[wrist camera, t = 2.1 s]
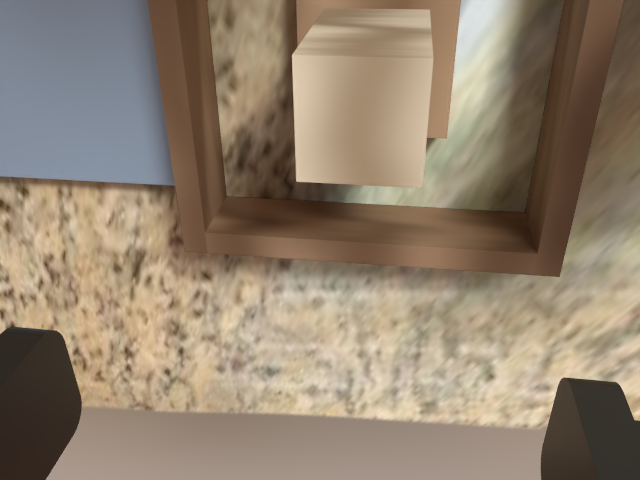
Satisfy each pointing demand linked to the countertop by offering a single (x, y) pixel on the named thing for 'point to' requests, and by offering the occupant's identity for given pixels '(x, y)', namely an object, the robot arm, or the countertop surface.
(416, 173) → the maple block
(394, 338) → the countertop surface
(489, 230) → the brown wooden square frame
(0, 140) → the pad
